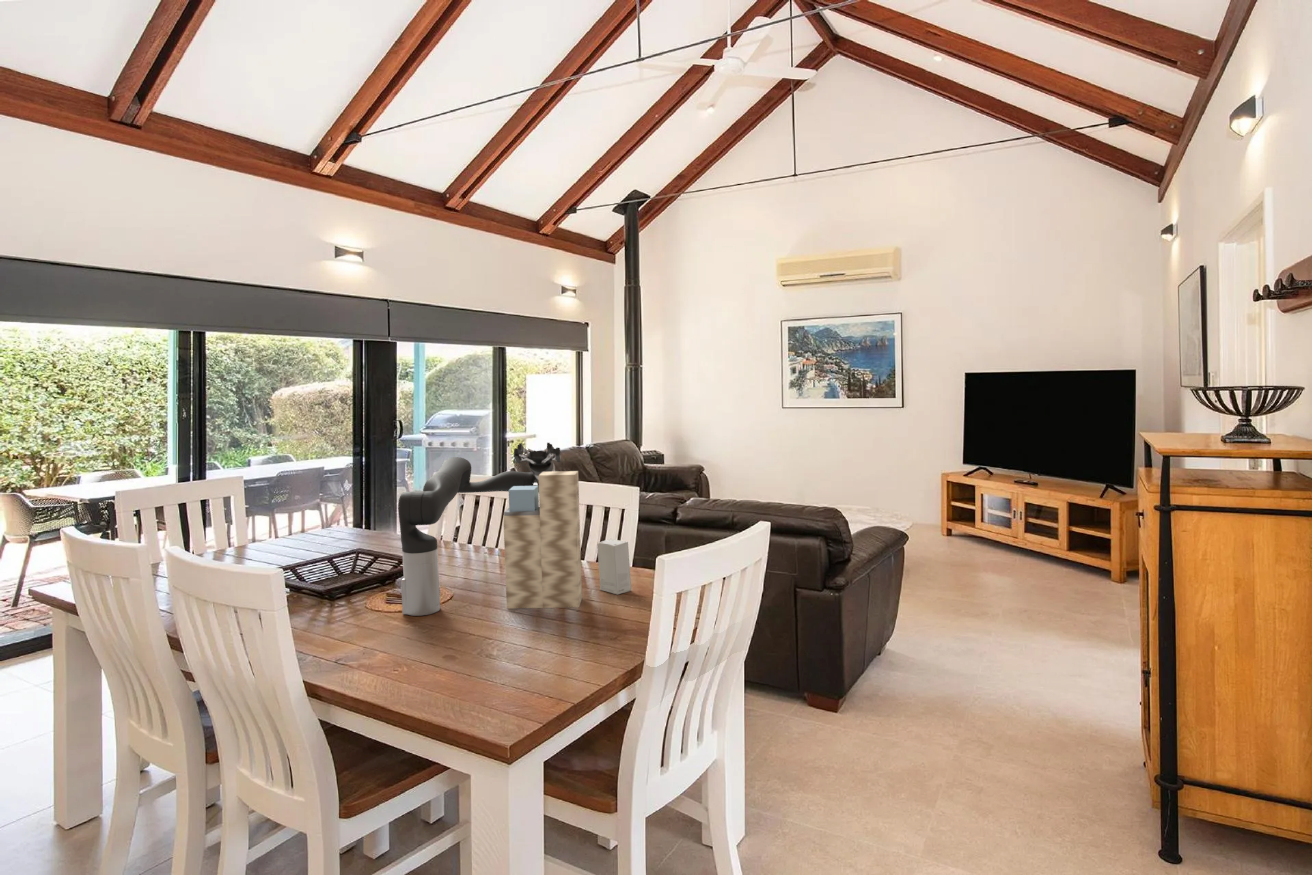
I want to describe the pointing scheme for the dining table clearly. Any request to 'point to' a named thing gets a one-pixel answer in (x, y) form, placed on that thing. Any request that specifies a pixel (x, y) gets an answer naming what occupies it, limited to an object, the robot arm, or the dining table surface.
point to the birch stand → (545, 547)
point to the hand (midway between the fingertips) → (534, 445)
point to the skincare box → (614, 566)
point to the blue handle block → (523, 498)
